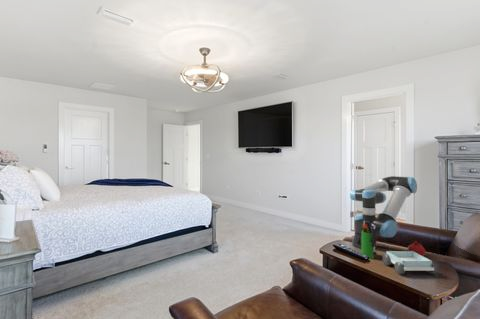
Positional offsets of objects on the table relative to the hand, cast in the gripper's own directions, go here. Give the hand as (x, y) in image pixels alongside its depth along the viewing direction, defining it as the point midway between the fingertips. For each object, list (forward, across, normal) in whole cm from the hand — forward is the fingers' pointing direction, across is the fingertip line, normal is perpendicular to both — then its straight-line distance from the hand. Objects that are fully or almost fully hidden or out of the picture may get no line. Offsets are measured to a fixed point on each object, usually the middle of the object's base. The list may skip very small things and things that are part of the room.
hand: (369, 249), depth 165 cm
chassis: (+4, +20, +12) cm, 24 cm away
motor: (+4, 0, 0) cm, 4 cm away
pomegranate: (+5, -2, +32) cm, 32 cm away
